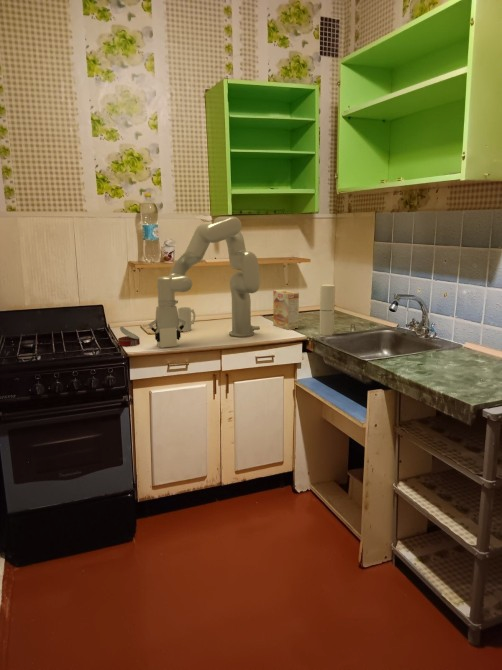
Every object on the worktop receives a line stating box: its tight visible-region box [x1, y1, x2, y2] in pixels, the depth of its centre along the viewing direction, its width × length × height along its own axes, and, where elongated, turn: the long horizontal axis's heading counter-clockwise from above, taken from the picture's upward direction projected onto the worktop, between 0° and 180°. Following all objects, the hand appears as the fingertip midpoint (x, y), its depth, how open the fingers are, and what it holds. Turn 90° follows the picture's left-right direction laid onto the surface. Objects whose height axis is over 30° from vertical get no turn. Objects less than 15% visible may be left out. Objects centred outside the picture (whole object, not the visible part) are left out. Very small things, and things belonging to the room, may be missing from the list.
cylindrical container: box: [318, 283, 336, 336], centre depth 258 cm, size 7×7×25 cm
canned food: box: [117, 326, 141, 348], centre depth 242 cm, size 11×10×10 cm
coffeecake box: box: [272, 289, 300, 331], centre depth 276 cm, size 15×7×20 cm, turn 30°
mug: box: [177, 306, 196, 333], centre depth 271 cm, size 10×7×12 cm, turn 130°
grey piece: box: [156, 327, 178, 348], centre depth 238 cm, size 8×8×9 cm
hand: (168, 340), depth 237 cm, fingers open, 9 cm apart
